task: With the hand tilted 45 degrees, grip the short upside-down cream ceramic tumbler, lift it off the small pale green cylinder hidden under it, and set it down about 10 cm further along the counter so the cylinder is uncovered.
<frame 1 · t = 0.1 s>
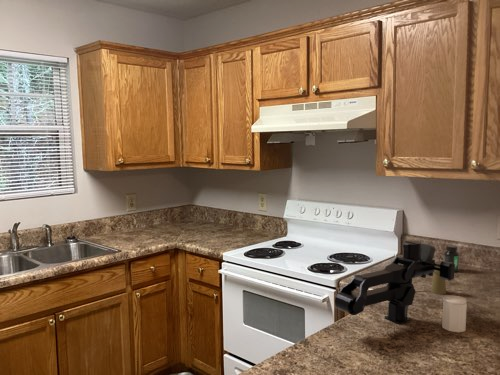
hand: (443, 262, 169), 17 cm above the worktop, tool horizontal, fingers open, 9 cm apart
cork: (438, 292, 186), on the worktop
tumbler: (453, 327, 150), on the worktop
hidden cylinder: (453, 322, 150), in the tumbler
supplement bottle: (450, 270, 217), on the worktop
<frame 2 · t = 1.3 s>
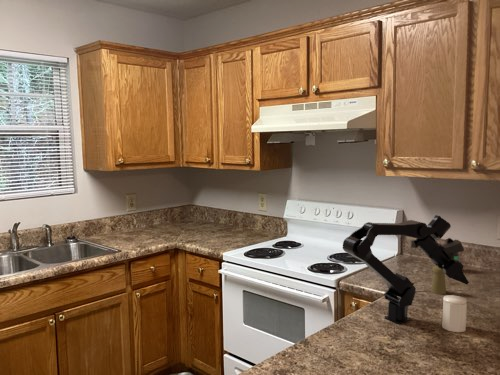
hand: (463, 279, 158), 14 cm above the worktop, tool tilted 45°, fingers open, 9 cm apart
nothing on the worktop moved.
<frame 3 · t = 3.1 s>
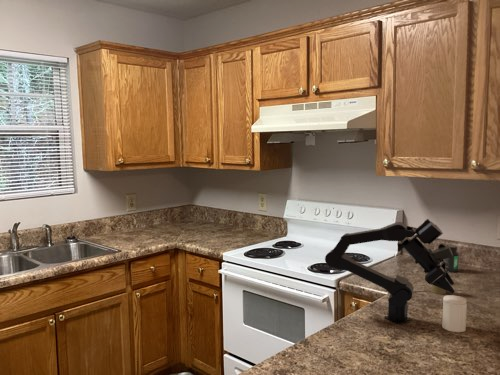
hand: (453, 288, 149), 14 cm above the worktop, tool tilted 45°, fingers open, 9 cm apart
nothing on the worktop moved.
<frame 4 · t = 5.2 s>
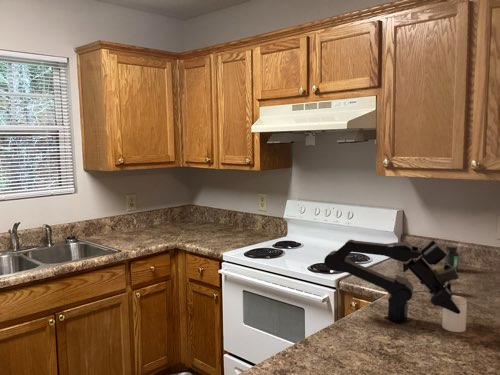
hand: (459, 309, 149), 7 cm above the worktop, tool tilted 45°, fingers closed on tumbler, 7 cm apart
tumbler: (453, 327, 150), on the worktop, touching gripper
everything else where it was.
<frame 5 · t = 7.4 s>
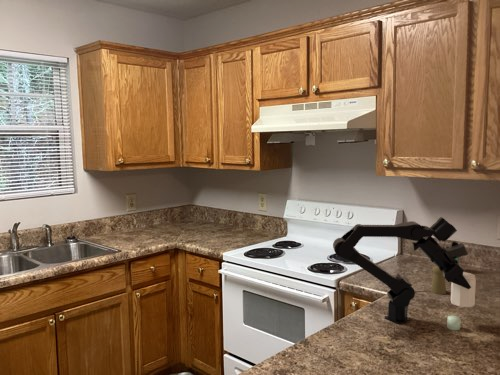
hand: (467, 284, 151), 14 cm above the worktop, tool tilted 45°, fingers closed on tumbler, 7 cm apart
tumbler: (462, 303, 152), point 7 cm above the worktop, touching gripper
everything else where it was.
when the fingers open (7 cm above the worktop, at t = 9.7 s): tumbler stays where it is, on the worktop.
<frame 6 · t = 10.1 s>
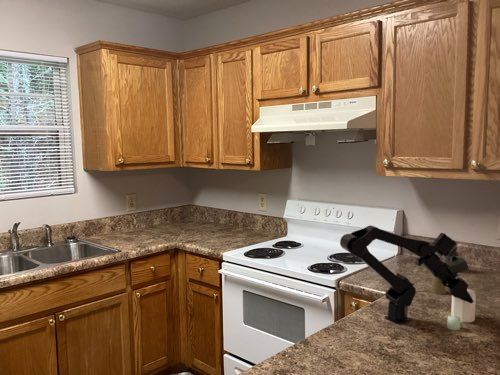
hand: (467, 297, 157), 8 cm above the worktop, tool tilted 45°, fingers open, 9 cm apart
tumbler: (462, 318, 158), on the worktop
everything else where it was.
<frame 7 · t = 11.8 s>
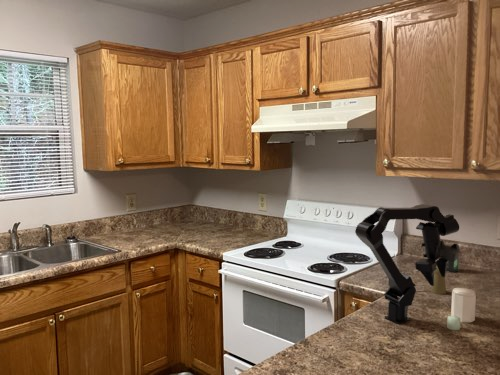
hand: (438, 281, 160), 12 cm above the worktop, tool pointing down, fingers open, 9 cm apart
nothing on the worktop moved.
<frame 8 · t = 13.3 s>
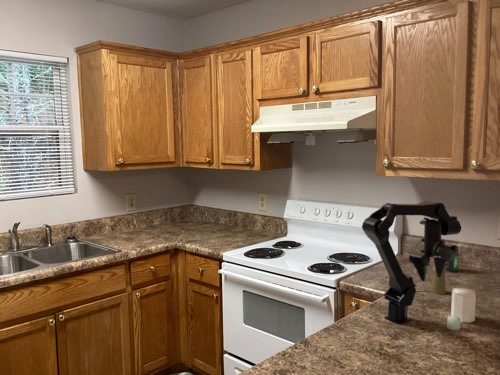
hand: (431, 279, 161), 13 cm above the worktop, tool pointing down, fingers open, 9 cm apart
nothing on the worktop moved.
at the end: tumbler inside the target area (0.0 cm from its centre), on the worktop; tumbler tilted 0°; the gripper is holding nothing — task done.
